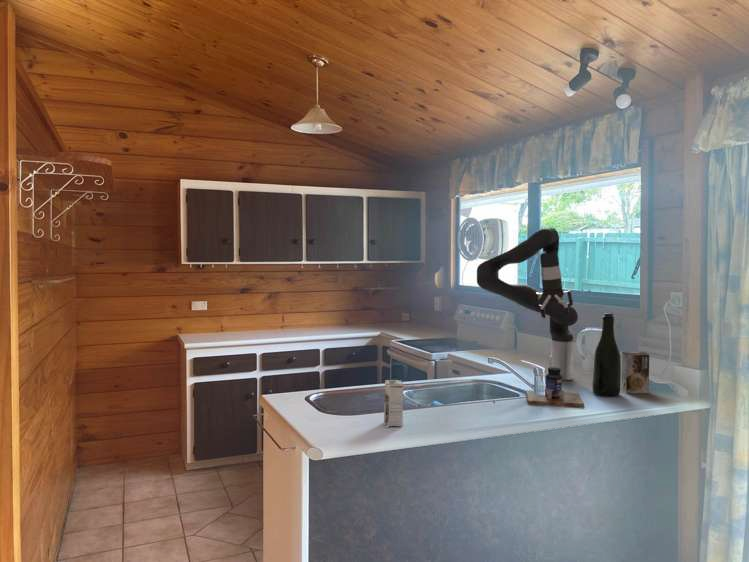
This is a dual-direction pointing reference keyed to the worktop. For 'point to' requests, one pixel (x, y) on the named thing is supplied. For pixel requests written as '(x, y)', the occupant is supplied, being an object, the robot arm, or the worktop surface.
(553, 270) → the robot arm
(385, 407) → the syrup box
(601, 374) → the dark green wine bottle
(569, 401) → the pin tray
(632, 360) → the coffee box
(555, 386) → the pill bottle
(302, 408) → the worktop surface
